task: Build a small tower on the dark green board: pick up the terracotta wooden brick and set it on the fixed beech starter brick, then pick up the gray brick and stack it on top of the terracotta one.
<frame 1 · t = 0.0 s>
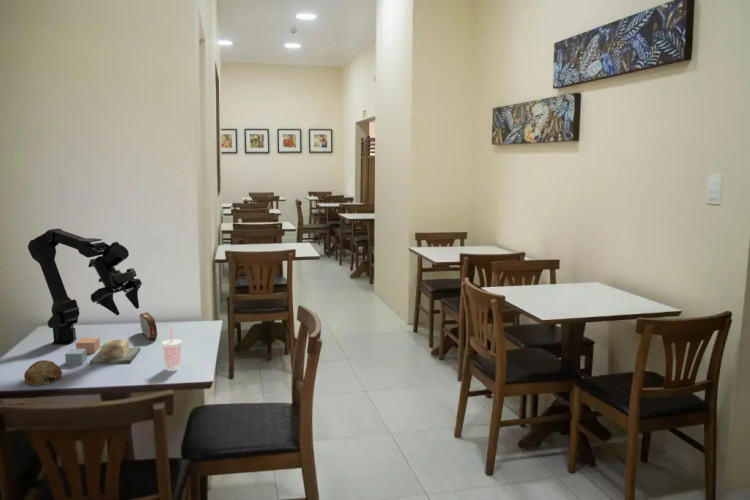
hand: (128, 311, 213), 15 cm above the table, tool tilted 35°, fingers open, 9 cm apart
terracotta brick: (88, 351, 218), on the table
bread roll: (42, 380, 191), on the table
tin: (148, 336, 235), on the table
gray brick: (76, 362, 206), on the table
build board: (116, 357, 211), on the table
beverage cup: (173, 368, 201), on the table
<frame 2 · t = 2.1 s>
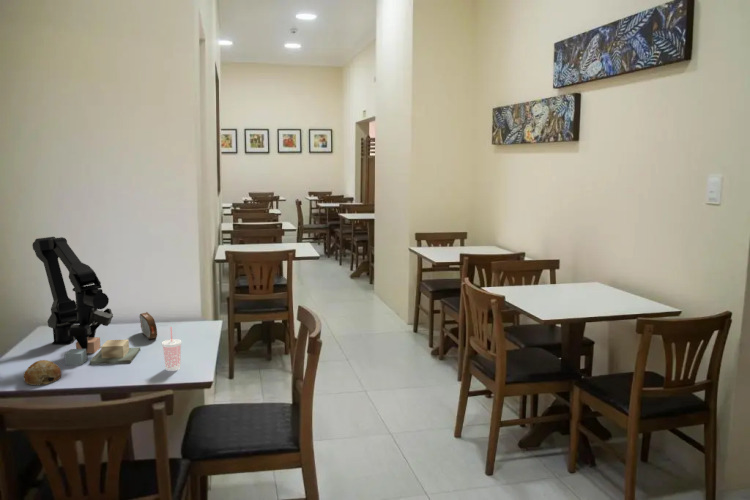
hand: (88, 347, 218), 1 cm above the table, tool pointing down, fingers closed on terracotta brick, 6 cm apart
terracotta brick: (88, 350, 218), on the table, touching gripper
everything else where it was.
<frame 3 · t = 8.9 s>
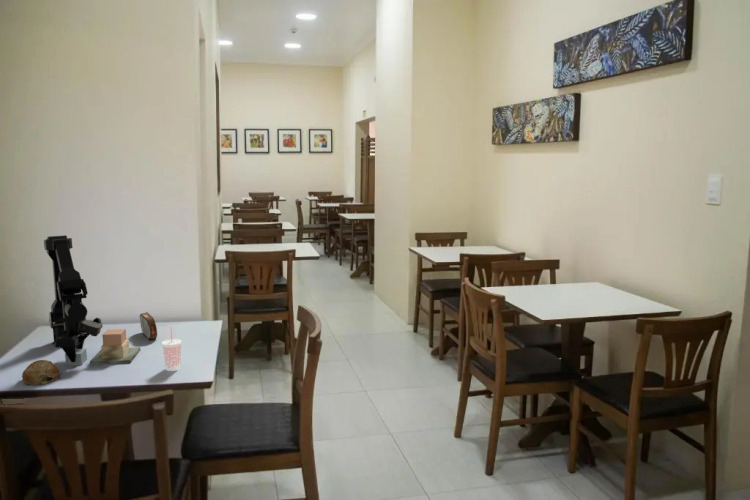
hand: (76, 359, 206), 1 cm above the table, tool pointing down, fingers closed on gray brick, 5 cm apart
terracotta brick: (115, 342, 211), point 5 cm above the table, touching build board
gray brick: (76, 362, 206), on the table, touching gripper
everything else where it was.
when the fingers open (11 cm above the table, at t = 12.1 s): gray brick stays where it is, resting on terracotta brick.
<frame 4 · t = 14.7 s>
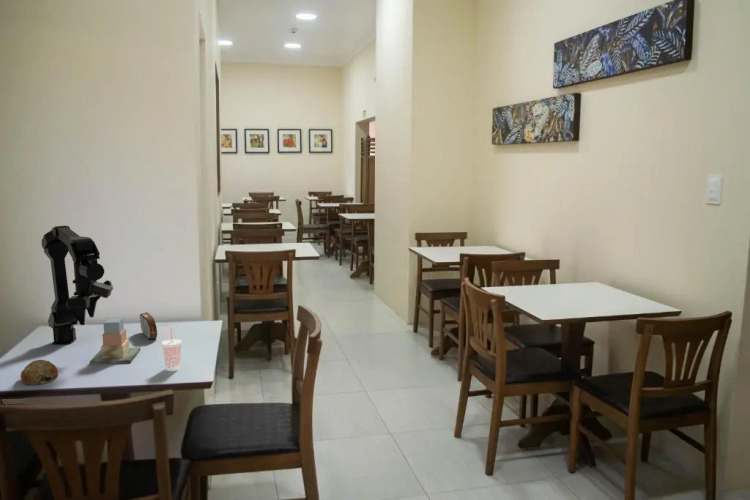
hand: (87, 321, 208), 13 cm above the table, tool pointing down, fingers open, 9 cm apart
terracotta brick: (115, 342, 211), point 5 cm above the table, touching gray brick, build board
gray brick: (114, 331, 210), point 9 cm above the table, touching terracotta brick
at the end: terracotta brick 0.0 cm off-centre on the build board, point 5.0 cm above the build board's base; gray brick 0.1 cm off-centre on the terracotta brick, point 4.0 cm above the terracotta brick's base; gray brick tilted 0° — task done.
